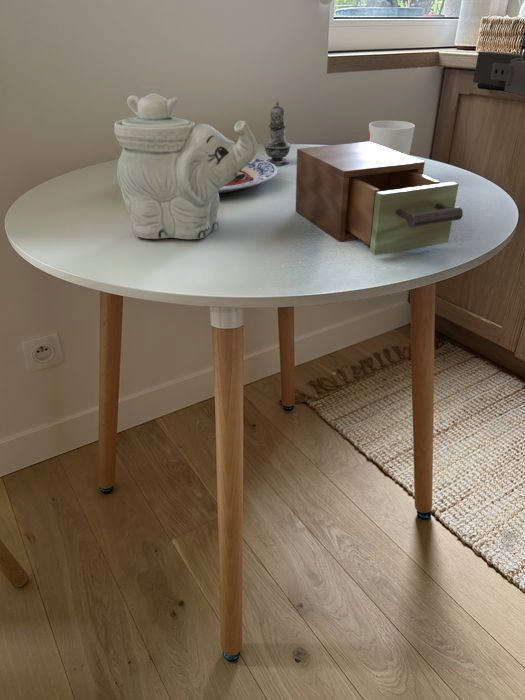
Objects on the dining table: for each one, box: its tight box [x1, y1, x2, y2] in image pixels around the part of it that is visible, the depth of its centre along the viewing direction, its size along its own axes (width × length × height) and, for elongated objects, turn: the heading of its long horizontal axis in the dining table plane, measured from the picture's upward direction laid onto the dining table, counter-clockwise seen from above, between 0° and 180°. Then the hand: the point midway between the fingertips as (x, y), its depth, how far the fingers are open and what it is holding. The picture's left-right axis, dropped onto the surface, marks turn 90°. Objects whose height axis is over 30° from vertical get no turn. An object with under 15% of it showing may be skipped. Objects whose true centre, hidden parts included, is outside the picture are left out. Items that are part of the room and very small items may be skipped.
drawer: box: [345, 170, 464, 256], centre depth 73 cm, size 18×12×8 cm, turn 22°
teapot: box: [113, 92, 258, 240], centre depth 76 cm, size 16×15×19 cm
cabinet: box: [295, 140, 426, 242], centre depth 82 cm, size 15×13×10 cm
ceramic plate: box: [218, 157, 278, 194], centre depth 103 cm, size 26×26×3 cm
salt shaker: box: [263, 100, 292, 167], centre depth 113 cm, size 6×6×12 cm
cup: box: [368, 120, 416, 156], centre depth 100 cm, size 8×8×10 cm
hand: (481, 67), depth 55 cm, fingers closed
